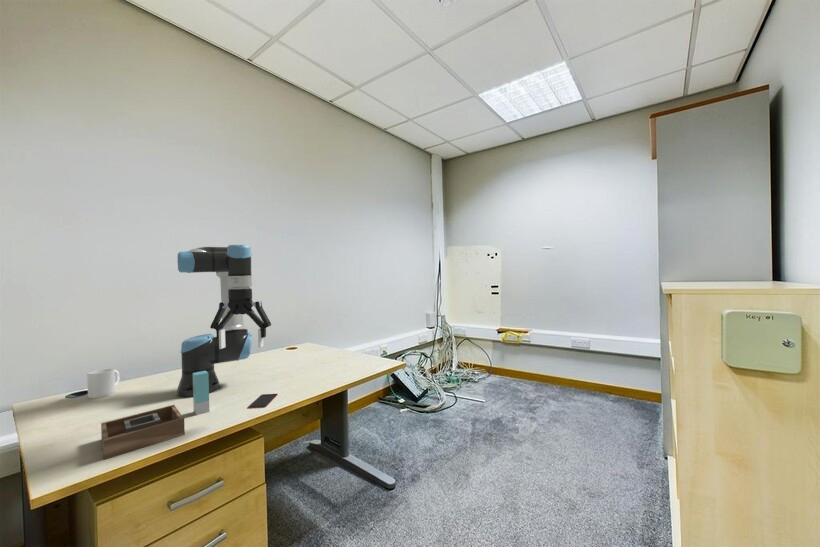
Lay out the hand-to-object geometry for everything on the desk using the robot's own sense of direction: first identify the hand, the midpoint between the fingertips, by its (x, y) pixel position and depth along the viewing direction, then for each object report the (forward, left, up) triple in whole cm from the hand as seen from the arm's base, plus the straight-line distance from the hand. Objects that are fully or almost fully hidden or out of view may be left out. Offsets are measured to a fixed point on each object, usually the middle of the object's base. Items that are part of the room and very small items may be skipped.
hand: (241, 347), depth 115 cm
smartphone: (-5, +9, -23) cm, 25 cm away
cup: (-68, -33, -23) cm, 79 cm away
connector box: (-4, -27, -23) cm, 36 cm away
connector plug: (-12, -10, -23) cm, 28 cm away
